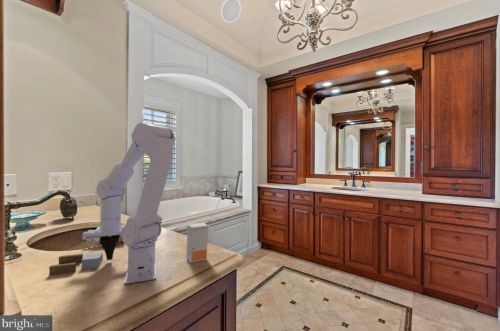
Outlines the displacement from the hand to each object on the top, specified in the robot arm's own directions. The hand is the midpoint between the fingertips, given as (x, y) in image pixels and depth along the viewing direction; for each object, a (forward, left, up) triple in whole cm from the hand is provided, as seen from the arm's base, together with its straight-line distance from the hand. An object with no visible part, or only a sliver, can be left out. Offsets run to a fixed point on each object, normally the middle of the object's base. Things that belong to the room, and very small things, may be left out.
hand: (109, 258), depth 74 cm
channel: (0, +11, -1) cm, 11 cm away
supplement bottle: (+21, -3, +2) cm, 21 cm away
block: (0, +5, -2) cm, 5 cm away
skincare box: (-7, -27, -1) cm, 28 cm away
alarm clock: (+68, +30, -2) cm, 74 cm away
